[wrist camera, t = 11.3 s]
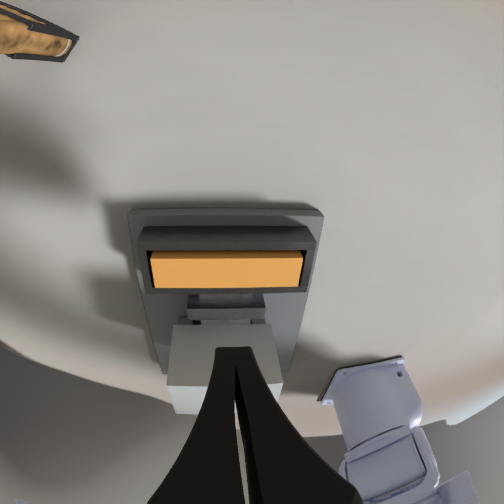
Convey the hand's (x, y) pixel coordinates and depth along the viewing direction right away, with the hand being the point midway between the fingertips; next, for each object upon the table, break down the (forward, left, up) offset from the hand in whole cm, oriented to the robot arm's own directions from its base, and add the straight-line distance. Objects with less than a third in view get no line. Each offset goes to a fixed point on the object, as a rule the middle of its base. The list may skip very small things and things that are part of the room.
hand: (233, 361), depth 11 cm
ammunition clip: (+14, -17, -10) cm, 24 cm away
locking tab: (0, 0, -8) cm, 8 cm away
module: (0, +7, -8) cm, 11 cm away
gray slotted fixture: (0, +5, -9) cm, 11 cm away
